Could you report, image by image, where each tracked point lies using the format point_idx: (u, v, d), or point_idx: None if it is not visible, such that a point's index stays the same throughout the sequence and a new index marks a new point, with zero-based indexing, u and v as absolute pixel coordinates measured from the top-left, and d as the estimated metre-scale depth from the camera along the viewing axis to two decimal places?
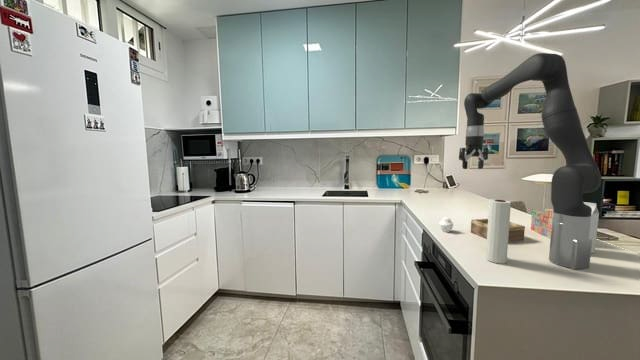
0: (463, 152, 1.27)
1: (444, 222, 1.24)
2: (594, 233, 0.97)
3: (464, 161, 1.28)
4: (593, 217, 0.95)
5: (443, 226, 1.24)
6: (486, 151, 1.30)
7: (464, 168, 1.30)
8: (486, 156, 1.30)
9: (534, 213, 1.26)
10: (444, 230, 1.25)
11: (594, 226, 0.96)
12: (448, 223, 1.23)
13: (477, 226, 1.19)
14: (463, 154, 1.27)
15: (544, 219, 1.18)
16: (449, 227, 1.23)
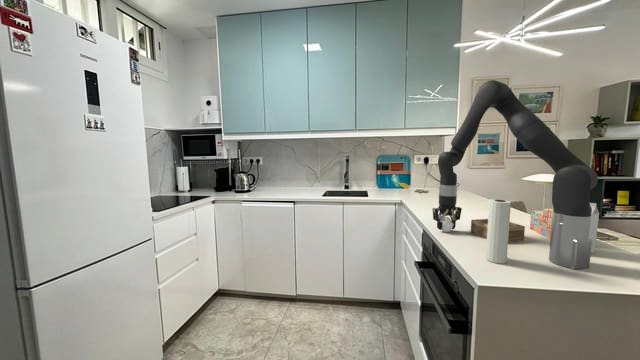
0: (436, 213, 1.23)
1: (444, 222, 1.24)
2: (594, 233, 0.97)
3: (438, 222, 1.24)
4: (593, 217, 0.95)
5: (443, 226, 1.24)
6: (459, 211, 1.25)
7: (439, 228, 1.25)
8: (458, 216, 1.25)
9: (533, 213, 1.26)
10: (444, 230, 1.25)
11: (594, 226, 0.96)
12: (448, 223, 1.23)
13: (477, 226, 1.19)
14: (436, 215, 1.23)
15: (543, 219, 1.19)
16: (449, 227, 1.23)
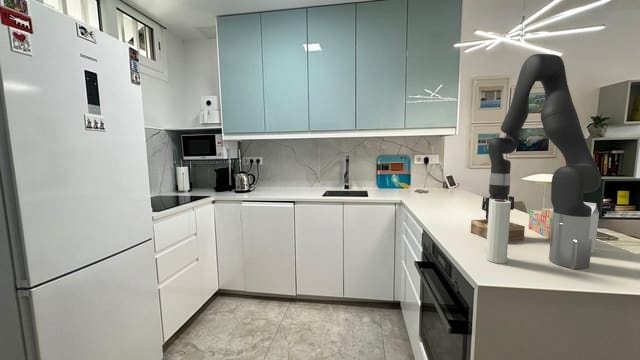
0: (487, 202, 1.14)
1: None
2: (594, 233, 0.97)
3: (488, 212, 1.15)
4: (593, 217, 0.95)
5: None
6: (512, 200, 1.16)
7: None
8: (512, 206, 1.17)
9: (532, 212, 1.27)
10: None
11: (593, 226, 0.96)
12: None
13: (478, 226, 1.19)
14: (487, 205, 1.14)
15: (542, 218, 1.19)
16: None
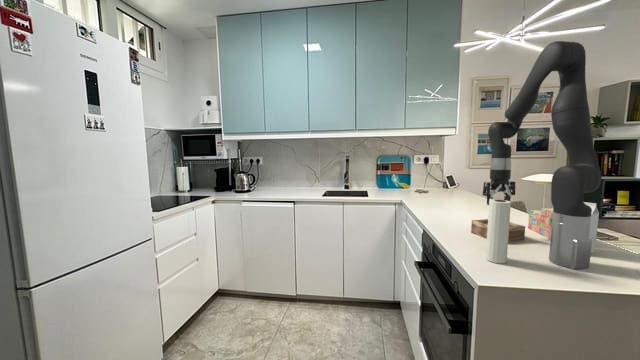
0: (488, 187, 1.14)
1: None
2: (594, 233, 0.97)
3: (489, 197, 1.15)
4: (593, 217, 0.95)
5: None
6: (513, 185, 1.16)
7: None
8: (513, 191, 1.16)
9: (531, 212, 1.27)
10: None
11: (594, 226, 0.96)
12: None
13: (478, 227, 1.19)
14: (488, 189, 1.14)
15: (541, 218, 1.20)
16: None
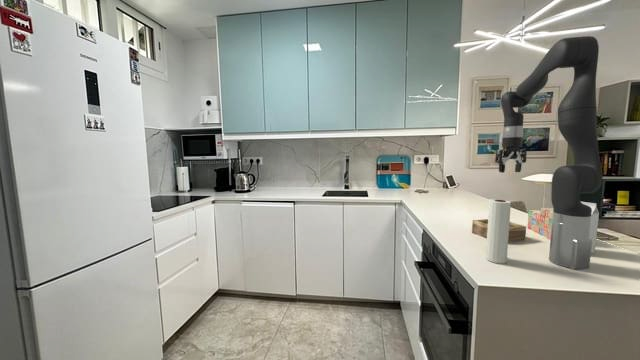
0: (500, 154, 1.19)
1: None
2: (594, 233, 0.97)
3: (501, 164, 1.20)
4: (593, 217, 0.95)
5: None
6: (524, 153, 1.21)
7: (501, 171, 1.21)
8: (524, 159, 1.21)
9: (531, 212, 1.27)
10: None
11: (594, 226, 0.96)
12: None
13: (479, 226, 1.19)
14: (500, 156, 1.19)
15: (540, 218, 1.20)
16: None
